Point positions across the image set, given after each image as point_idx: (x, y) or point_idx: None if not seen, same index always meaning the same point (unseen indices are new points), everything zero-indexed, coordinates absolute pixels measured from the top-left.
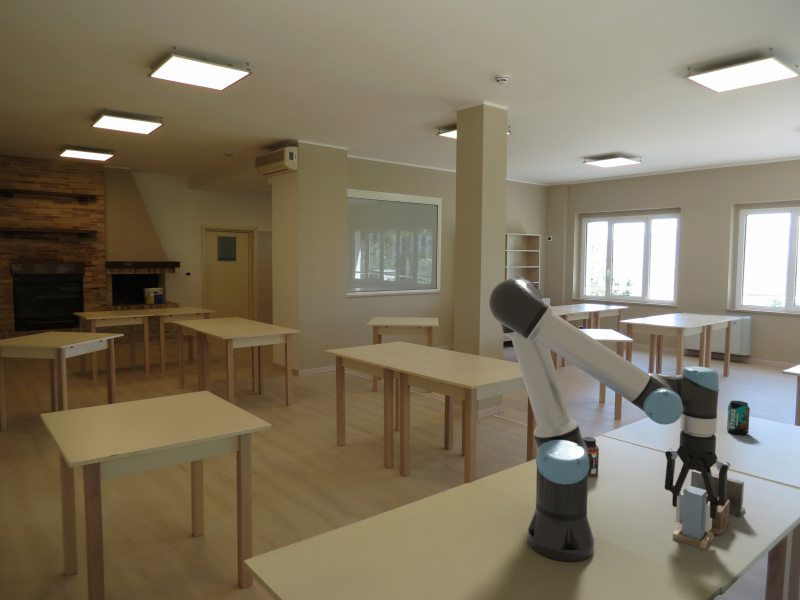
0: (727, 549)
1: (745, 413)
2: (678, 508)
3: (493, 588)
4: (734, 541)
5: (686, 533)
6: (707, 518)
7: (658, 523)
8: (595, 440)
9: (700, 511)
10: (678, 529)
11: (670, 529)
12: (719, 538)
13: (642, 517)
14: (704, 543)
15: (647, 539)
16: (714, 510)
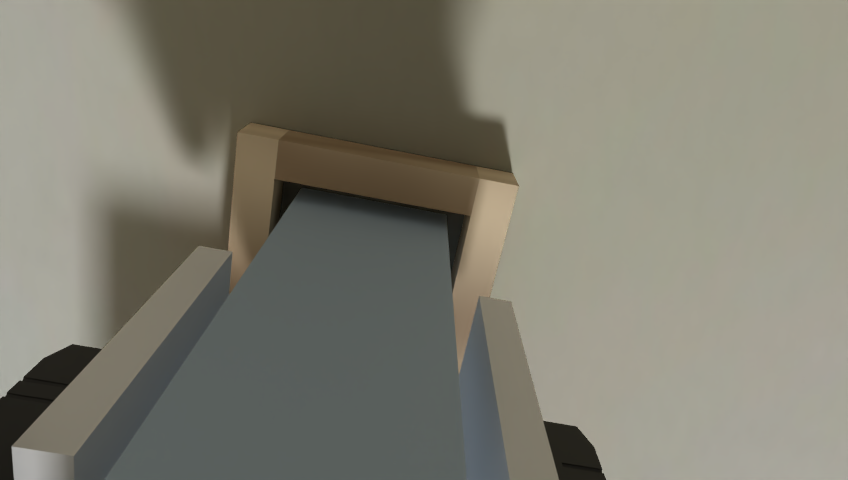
0: (104, 224)
1: None
2: (511, 391)
3: None
4: None
5: (406, 226)
6: (152, 320)
7: (628, 362)
8: None
9: (206, 348)
10: (477, 286)
11: (536, 314)
12: None
13: (751, 394)
14: (246, 145)
15: (730, 14)
16: (2, 422)
